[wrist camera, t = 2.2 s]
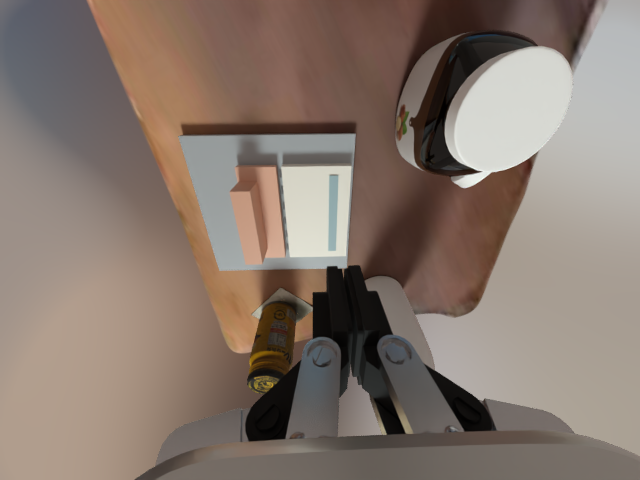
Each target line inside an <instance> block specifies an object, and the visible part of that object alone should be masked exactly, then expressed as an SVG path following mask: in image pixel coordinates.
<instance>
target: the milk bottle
mask: <svg viewBox="0 0 640 480" xmlns="http://www.w3.org/2000/svg"><path fill="white" fill-rule="evenodd" d="M365 284H366V287H367V290H368V291H377V292H378V294H379V297H380V300H381V303H382V305H383V308H384V311H385V314H386V316H387V319H388V322H389V324H390V327H391V330H392V333H393V335H397V336H400V337H402V338H405V339H406V340H407V341H409V342H410V343H411V345H412V346H413V347H414V349H415V350H416V352H417V354H418V355H419V357H420V358H421V360H422V362H423V363H424V364H426V365H427V366H429V367H430V368H432V369H433V370H435V366H434V361H433V357H432V354H431V351H430V348H429V346H428V343H427V341H426V339H425V336H424V334H423V332H422V330H421V327H420V325H419V323H418V321H417V318H416V316H415V314H414V312H413V310H412V308H411V305H410V303H409V301H408V299H407V297H406V295H405V293H404V290H403V289H402V287H401V285H400V283H399V282H398V281H396V280H395V279H393V278H391V277H388V276H375V277H372V278H369V279H367V280H365Z"/></svg>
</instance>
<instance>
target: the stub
mask: <svg viewBox="0 0 640 480" xmlns="http://www.w3.org/2000/svg"><path fill="white" fill-rule="evenodd" d="M234 168H235V172H236V177H237V182H238V183H237V184H236V185H235V186H234V187H233V188H232V189H231V191H230V192H229V193H230V197H231V201H232V206H233V210H234V215H235V219H236V224H237V228H238V233H239V237H240V241H241V246H242V250H243V255H244V259H245V264H246V265H256V264H263V262H264V258H281V257H286V248H285V239H284V229H283V220H282V210H281V201H280V191H279V182H278V172H277V165H237V166H236V167H234Z"/></svg>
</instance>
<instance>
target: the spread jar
mask: <svg viewBox="0 0 640 480" xmlns="http://www.w3.org/2000/svg"><path fill="white" fill-rule="evenodd" d="M572 90H573V77H572V71H571V68H570V66H569V63H568V61H567V60H566V59H565V58H564V56H563V55H562V54H561V53H559V52H557V51H556V50H554V49H552V48H548V47H544V46H538V45H537V44H536V43H535V42H534V41H533V40H531V39H529V38H528V37H526V36H523V35H521V34H518V33H514V32H509V31H502V30H480V31H474V32H468V33H463V34H460V35H457V36H454V37H452V38H449V39H447V40H445V41H443V42H441V43H439V44H437V45H435V46H433V47H432V48H430V49H429V50H428V51H426V52H425V53H424V54H423V55H422V56H421V58H420V59H419V60H418V61H417V63H416V64H415V66H414V67H413V69H412V71H411V73H410V75H409V77H408V79H407V81H406V83H405V85H404V88H403V90H402V93H401V96H400V99H399V102H398V106H397V111H396V119H395V135H396V144H397V148H398V151H399V153H400V154H401V156H402V157H403V158H404V159H405V160H406V161H408V162H409V163H410V164H412V165H413V166H415V167H417V168H419V169H421V170H423V171H426V172H429V173H432V174H436V175H443V176H449V177H451V181H453V182H454V183H456V184H457V185H459V186H460V187H462V188H467V187H470V186H472V185H475V184H476V183H478V182H479V181H481V180H482V179H484V178H485V177H486V176H487V175H489V174H490V173H491V172H497V171H501V170H506V169H508V168H511V167H513V166H516V165H518V164H520V163H521V162H523V161H525V160H527V159H528V158H529V157H531V156H532V155H533V154H535V153H536V152H537V151H538V150H539V149H540V148H542V147H543V146H544V145H545V144H546V143H547V142H548V140H549V139H550V138H551V137H552V136H553V134H554V133H555V132H556V130H557V129H558V127H559V126H560V124H561V122H562V121H563V118H564V117H565V114H566V112H567V110H568V107H569V104H570V101H571V98H572Z"/></svg>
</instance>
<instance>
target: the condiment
mask: <svg viewBox="0 0 640 480" xmlns="http://www.w3.org/2000/svg"><path fill="white" fill-rule="evenodd" d="M284 299H285V300H284ZM281 300H282V301H281ZM311 311H313V307H311V306H310V305H309V304H307V303H306V302H304V301H303V300H301V299H299V298H298V297H296V296H295V295H292V294H291V293H289V292H288V291H286V290H284V289H282V288H281V287H280V288H279V289H278V290H277V291H276V292H275V293H274V294H273V295H272V296H271V297H270V298H269V299H268V300H266V301H265V302H264V303H263V304H262V305H261V306H260V307H259V308H258V309H257V310H256V311H255V312H254V313H253V314H252V316H254V317H256V318H259V319H260V320H259V324H258V328H257V332H256V336H255V340H254V344H253V348H252V352H251V356H250V362H249V363H250V366H251V367H250V370H249V376H248V379H247V381H248V383H247V385H248V387H249V388H250V389H252V390H253V391H254V392H256V393H259V394H265V393H266V392H267V391H268V390H270V389H271V388H272V387H273V386H274V385H275V384H276V383H277V382H278V381H279V380H280V379H281V378H282V377H283V376H284V375H286V374H287V373H288V372H289V369H290V368H291V366H292V360H293V349H294V337H295V326H296V323H297V322H298V321H300V320H301V319H302V318H303V317H305V316H306V315H307V314H308V313H310V312H311ZM297 313H298V314H297Z"/></svg>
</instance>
